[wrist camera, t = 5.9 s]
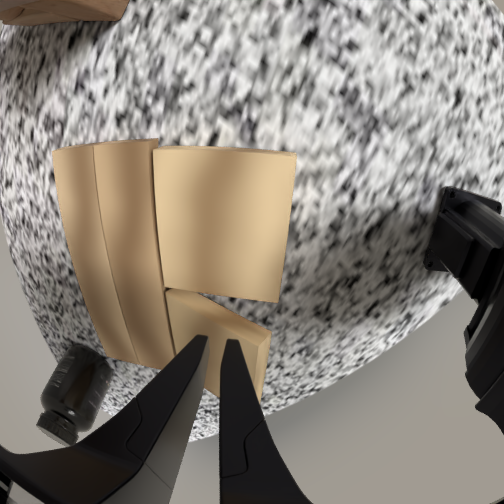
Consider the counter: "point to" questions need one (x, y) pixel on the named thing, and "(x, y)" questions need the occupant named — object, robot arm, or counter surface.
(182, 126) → the counter surface
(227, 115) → the counter surface
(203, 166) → the oak plank
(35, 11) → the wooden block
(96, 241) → the laid floor row
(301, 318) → the counter surface
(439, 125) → the counter surface
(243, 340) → the oak plank
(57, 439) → the supplement bottle
